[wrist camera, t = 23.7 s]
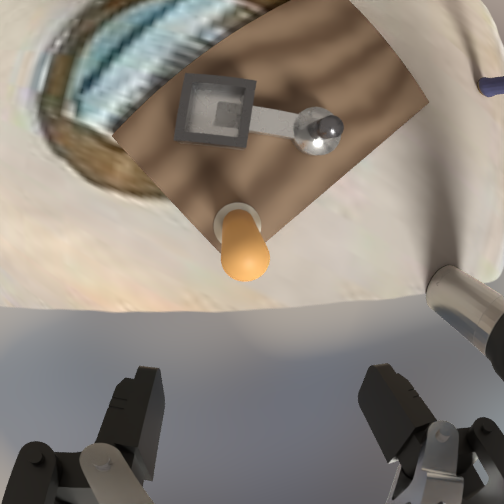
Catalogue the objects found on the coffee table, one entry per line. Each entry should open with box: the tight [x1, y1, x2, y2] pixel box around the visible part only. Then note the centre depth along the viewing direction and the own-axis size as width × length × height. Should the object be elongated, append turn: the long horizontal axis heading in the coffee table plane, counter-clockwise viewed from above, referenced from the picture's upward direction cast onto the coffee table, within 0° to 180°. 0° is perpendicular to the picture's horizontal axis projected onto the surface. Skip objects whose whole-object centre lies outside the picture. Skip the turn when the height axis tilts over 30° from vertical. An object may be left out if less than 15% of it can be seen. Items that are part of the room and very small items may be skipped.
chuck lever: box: [174, 73, 344, 155], centre depth 29 cm, size 19×8×7 cm, turn 82°
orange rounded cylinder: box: [221, 209, 270, 281], centre depth 30 cm, size 4×4×13 cm
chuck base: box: [112, 0, 429, 253], centre depth 32 cm, size 24×39×2 cm, turn 131°
